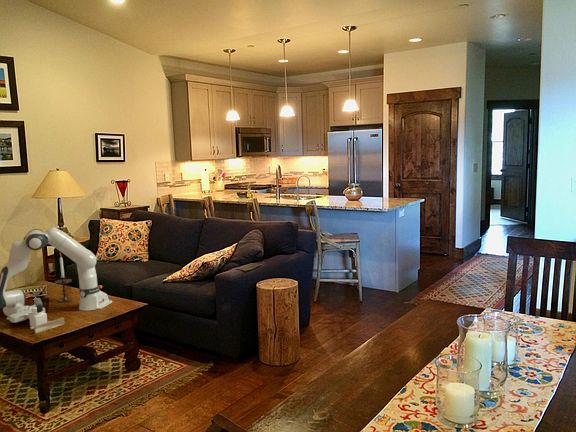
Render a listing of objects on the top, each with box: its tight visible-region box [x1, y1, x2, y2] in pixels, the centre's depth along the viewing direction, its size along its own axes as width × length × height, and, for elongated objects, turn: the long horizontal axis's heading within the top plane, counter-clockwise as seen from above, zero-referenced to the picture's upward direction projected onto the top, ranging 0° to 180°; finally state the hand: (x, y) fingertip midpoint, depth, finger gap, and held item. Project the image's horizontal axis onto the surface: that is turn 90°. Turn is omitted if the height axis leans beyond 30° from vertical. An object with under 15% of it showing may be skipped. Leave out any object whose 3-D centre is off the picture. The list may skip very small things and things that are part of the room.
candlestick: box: [54, 252, 73, 304], centre depth 338 cm, size 11×11×35 cm
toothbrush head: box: [33, 296, 43, 306], centre depth 335 cm, size 5×7×25 cm
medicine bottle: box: [28, 305, 48, 327], centre depth 291 cm, size 7×7×12 cm
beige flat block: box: [29, 317, 65, 335], centre depth 287 cm, size 11×18×4 cm, turn 148°
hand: (34, 316), depth 293 cm, fingers closed
